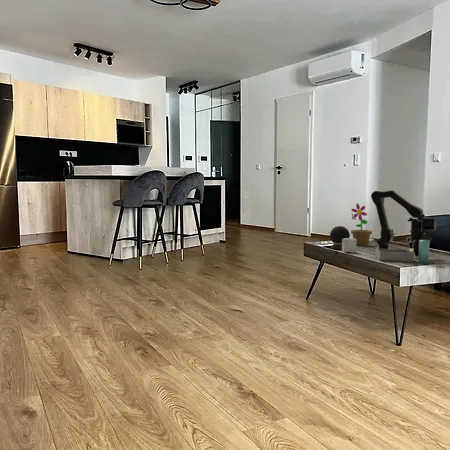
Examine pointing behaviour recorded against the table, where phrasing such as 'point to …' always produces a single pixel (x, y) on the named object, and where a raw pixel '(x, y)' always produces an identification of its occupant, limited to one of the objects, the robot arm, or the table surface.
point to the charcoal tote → (394, 255)
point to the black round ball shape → (338, 236)
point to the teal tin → (423, 251)
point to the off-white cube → (413, 254)
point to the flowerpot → (361, 235)
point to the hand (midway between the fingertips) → (415, 255)
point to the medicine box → (349, 245)
